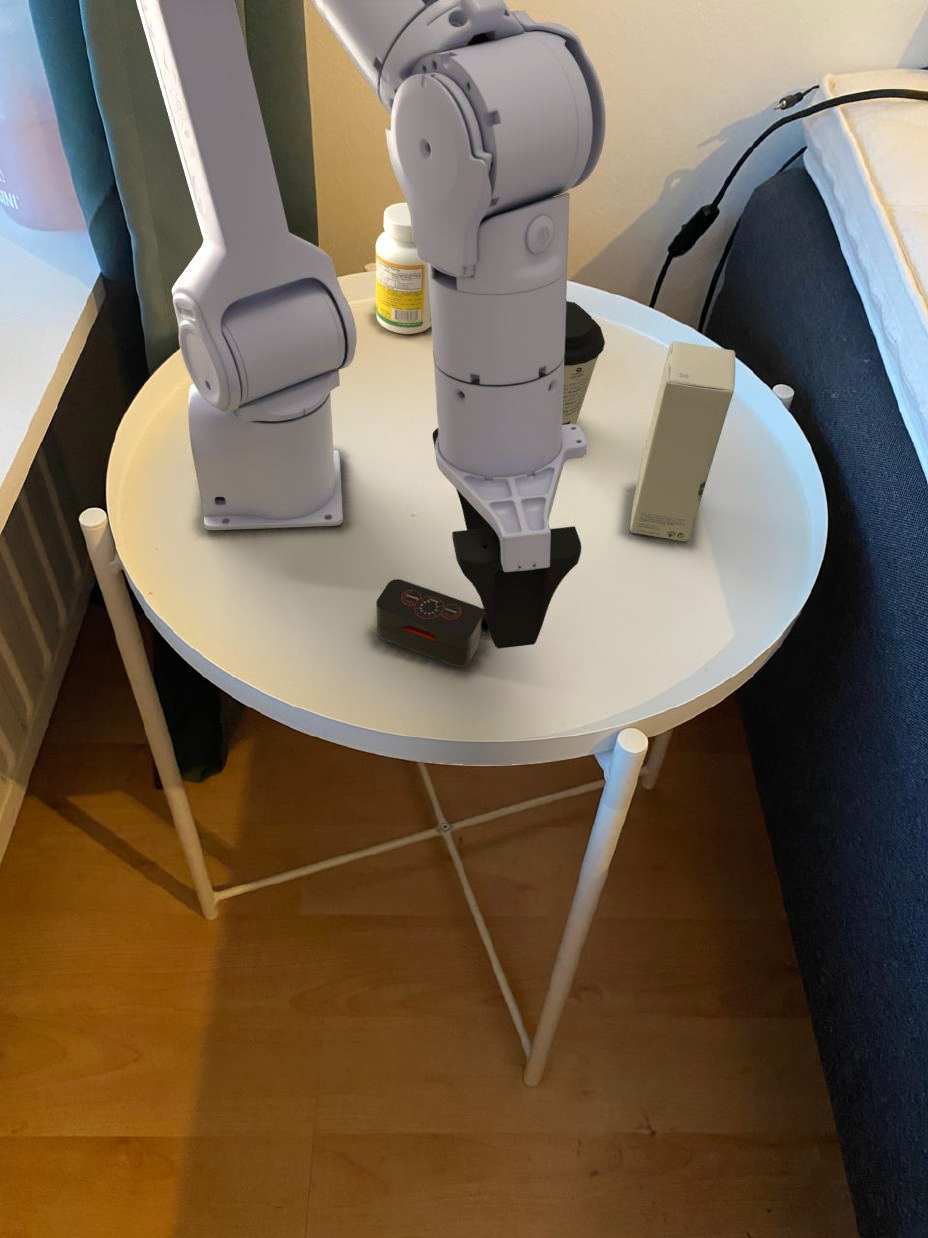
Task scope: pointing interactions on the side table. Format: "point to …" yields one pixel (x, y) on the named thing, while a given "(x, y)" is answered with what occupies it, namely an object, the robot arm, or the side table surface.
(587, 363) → the coffee cup
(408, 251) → the supplement bottle
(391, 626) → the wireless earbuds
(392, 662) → the side table surface
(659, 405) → the box
